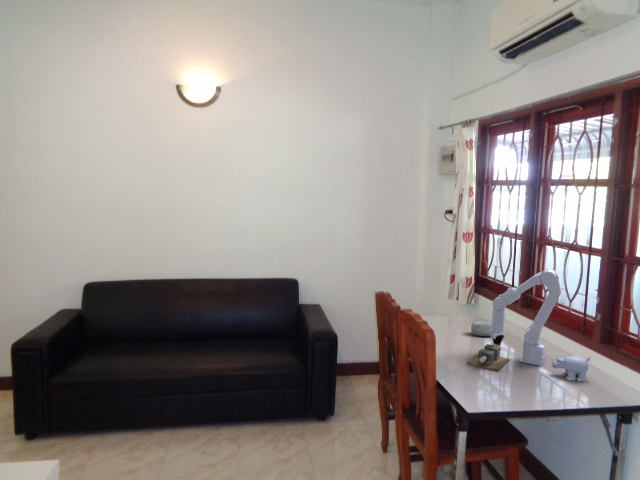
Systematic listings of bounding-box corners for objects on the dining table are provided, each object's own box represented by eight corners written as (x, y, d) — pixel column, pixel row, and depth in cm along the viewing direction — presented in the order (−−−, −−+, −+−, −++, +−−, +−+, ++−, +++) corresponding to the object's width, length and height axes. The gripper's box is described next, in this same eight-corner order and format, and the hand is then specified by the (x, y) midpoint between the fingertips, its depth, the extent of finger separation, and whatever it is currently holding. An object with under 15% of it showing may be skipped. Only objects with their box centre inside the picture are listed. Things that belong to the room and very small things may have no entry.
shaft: (500, 353, 236) (501, 344, 236) (485, 366, 219) (486, 357, 218) (491, 351, 239) (491, 342, 238) (475, 364, 221) (476, 355, 221)
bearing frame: (509, 360, 232) (510, 347, 231) (498, 371, 218) (499, 357, 217) (479, 354, 240) (480, 341, 239) (467, 364, 226) (467, 350, 225)
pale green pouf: (497, 327, 273) (494, 313, 268) (499, 339, 265) (497, 326, 260) (471, 330, 277) (468, 317, 272) (473, 343, 269) (470, 330, 264)
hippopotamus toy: (549, 369, 222) (550, 348, 221) (585, 373, 218) (587, 352, 217) (554, 378, 212) (555, 357, 210) (592, 382, 208) (594, 360, 207)
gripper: (494, 317, 244) (492, 344, 246) (485, 324, 233) (483, 351, 235) (509, 319, 240) (507, 347, 242) (500, 326, 229) (498, 355, 230)
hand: (496, 349), depth 238 cm, fingers closed
